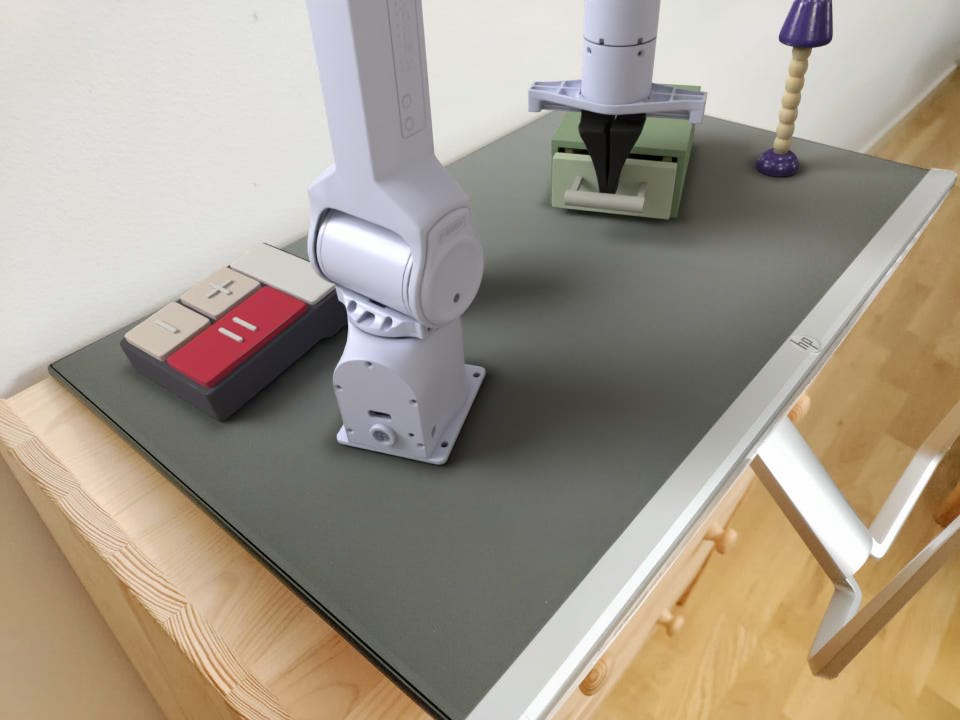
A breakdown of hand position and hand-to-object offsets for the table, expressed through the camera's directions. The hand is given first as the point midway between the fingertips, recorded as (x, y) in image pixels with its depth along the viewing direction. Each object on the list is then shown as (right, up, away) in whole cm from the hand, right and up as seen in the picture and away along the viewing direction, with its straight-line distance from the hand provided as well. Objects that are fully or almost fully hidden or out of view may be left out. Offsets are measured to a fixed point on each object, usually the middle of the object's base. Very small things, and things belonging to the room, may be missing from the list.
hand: (608, 191), depth 64 cm
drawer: (+2, +2, +7) cm, 7 cm away
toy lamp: (+19, +5, +10) cm, 22 cm away
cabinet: (+4, +4, +10) cm, 12 cm away
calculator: (-30, -14, -7) cm, 34 cm away
